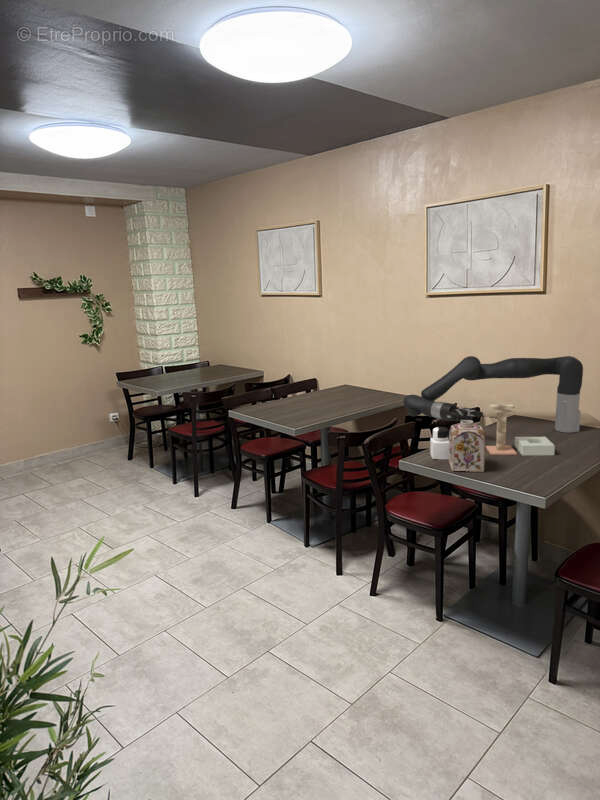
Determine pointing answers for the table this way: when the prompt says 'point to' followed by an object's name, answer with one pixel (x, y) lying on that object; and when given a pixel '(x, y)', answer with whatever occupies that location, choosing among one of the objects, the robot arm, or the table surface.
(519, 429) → the table surface
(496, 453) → the mat
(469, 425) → the decorative jar
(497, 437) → the t key
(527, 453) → the socket block
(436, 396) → the robot arm
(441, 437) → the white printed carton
